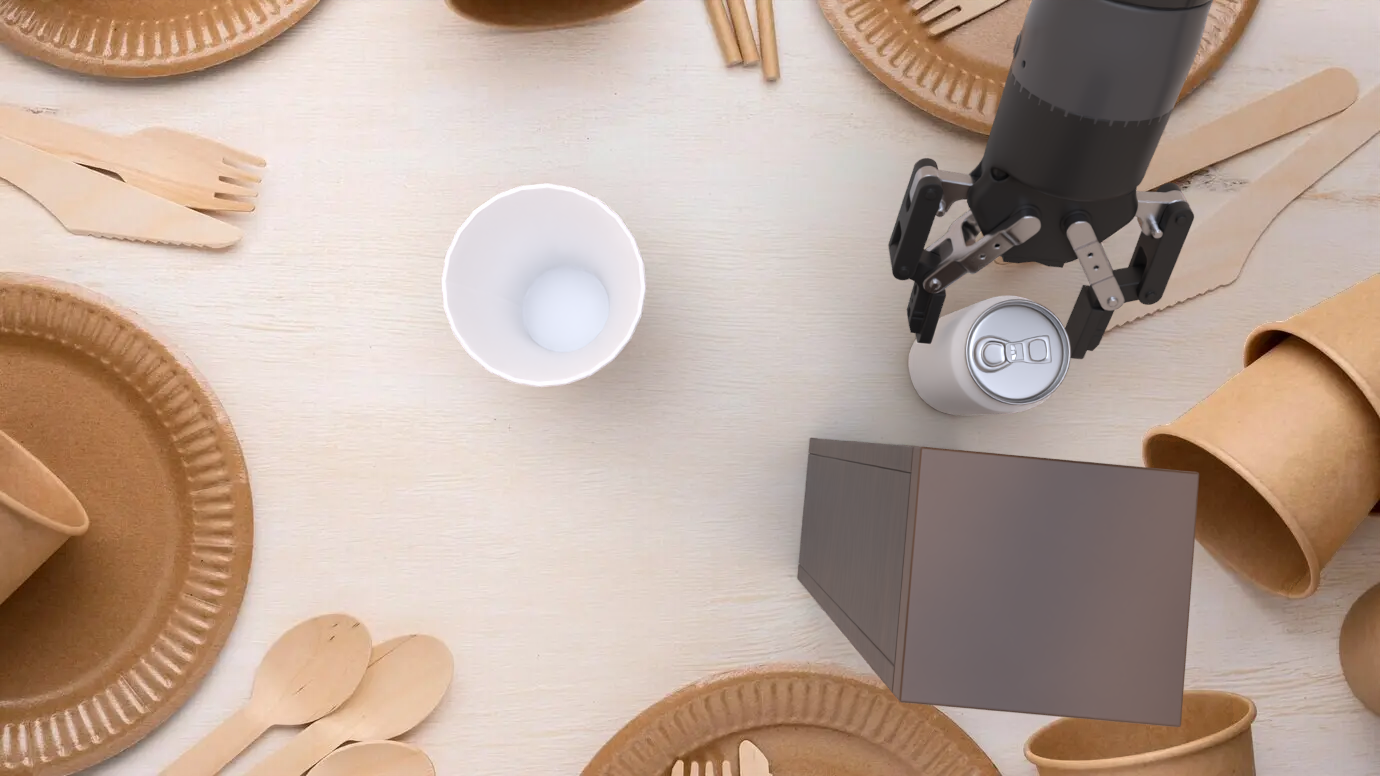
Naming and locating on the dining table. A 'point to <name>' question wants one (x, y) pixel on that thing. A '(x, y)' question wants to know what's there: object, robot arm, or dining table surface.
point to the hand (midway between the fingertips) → (997, 342)
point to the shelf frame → (857, 541)
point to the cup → (543, 285)
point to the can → (992, 358)
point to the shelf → (1046, 586)
